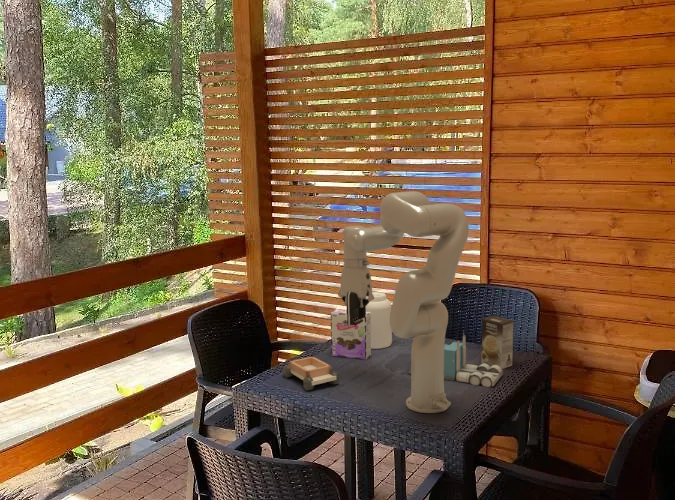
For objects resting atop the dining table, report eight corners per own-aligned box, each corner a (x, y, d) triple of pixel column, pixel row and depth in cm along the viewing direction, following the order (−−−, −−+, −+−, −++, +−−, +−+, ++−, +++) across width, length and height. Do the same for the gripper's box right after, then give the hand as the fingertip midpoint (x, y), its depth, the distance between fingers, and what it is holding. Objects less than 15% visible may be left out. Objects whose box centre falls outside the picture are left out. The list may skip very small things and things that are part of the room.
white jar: (396, 341, 261) (396, 291, 258) (385, 351, 250) (384, 298, 247) (366, 338, 266) (365, 289, 263) (354, 347, 255) (353, 295, 252)
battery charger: (356, 326, 221) (356, 292, 220) (346, 325, 223) (346, 291, 222) (366, 321, 227) (366, 288, 226) (356, 320, 229) (356, 287, 227)
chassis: (339, 385, 216) (338, 368, 215) (309, 392, 210) (308, 374, 209) (311, 369, 231) (311, 353, 230) (282, 375, 225) (282, 359, 224)
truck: (420, 365, 235) (420, 323, 232) (502, 377, 221) (503, 333, 219) (407, 375, 224) (407, 332, 222) (493, 389, 211) (494, 343, 208)
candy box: (330, 356, 245) (329, 312, 242) (336, 351, 250) (336, 308, 248) (366, 360, 240) (365, 315, 237) (371, 355, 245) (371, 311, 243)
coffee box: (480, 363, 234) (481, 318, 232) (492, 359, 238) (493, 315, 236) (501, 369, 227) (502, 323, 225) (513, 365, 231) (514, 320, 228)
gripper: (382, 263, 221) (383, 317, 223) (340, 259, 230) (341, 311, 233) (371, 267, 214) (371, 323, 217) (328, 263, 224) (329, 316, 227)
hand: (356, 316), depth 225 cm, fingers closed on battery charger, 3 cm apart
